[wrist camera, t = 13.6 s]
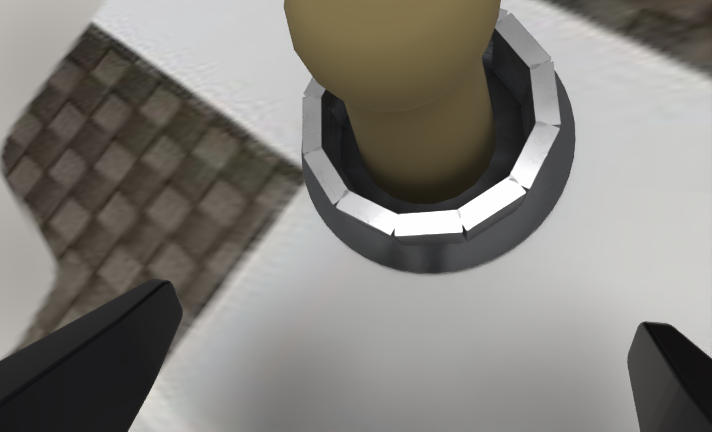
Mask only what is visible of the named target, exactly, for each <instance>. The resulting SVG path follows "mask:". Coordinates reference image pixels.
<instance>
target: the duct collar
mask: <svg viewBox="0 0 712 432" xmlns="http://www.w3.org/2000/svg"><path fill="white" fill-rule="evenodd" d="M550 60H551V57H550V56H549V55H548V53H547V52H546V51H545V50H544V49H543V48H542V47H541V46H540V45H539V43H538V42H537V41H536V40H535V39H534V38H533V37H532V36H531V34H530V33H529V32H528V31H527V30H526V29H525V28H524V27H523V26H522V24H521V23H520V22H519V21H518V20H517V19H516V18H515V17H514V15H513V14H512V13H510V14H509V15H507V10H504V9H501V8H500V10H499V17H498V20H497V23H496V25H495V28H494V31H493V33H492V36H491V39H490V41H489V44H488V47H487V49H486V51H485V52H484V54H483V56H482V63H483V67H484V72H485V77H486V82H487V86H488V91H489V96H490V101H491V105H492V110H493V115H494V120H495V124H496V148H495V151H494V153H493V156H492V159H491V162H490V165H489V167H488V169H487V170H486V171H485V172H484V174H483V175H482V176H481V178H480V179H479V180H478V181H477V183H476V184H475V185H474V186H472V187H471V188H469V189H468V190H466V191H465V192H463V193H462V194H460V195H459V196H457V197H456V198H453V199H449V200H446V201H443V202H439V203H436V204H411V203H408V202H405V201H402V200H399V199H396V198H393V197H391V196H390V195H389V194H387V193H386V192H385V191H383V190H382V189H381V188H379V187H378V186H377V185H376V184H375V183H374V181H373V180H372V178H371V177H370V175H369V174H368V172H367V171H366V169H365V167H364V164H363V160H362V157H361V154H360V151H359V148H358V145H357V141H356V138H355V135H354V132H353V129H352V125H351V122H350V119H349V116H348V113H347V109H346V106H345V103H344V101H342V100H341V99H339V98H338V97H336V96H335V95H334V94H332V93H331V92H329V91H328V90H326V89H325V88H323V87H322V86H321V85H319V84H318V83H317V81H316V80H315V79H314V77H312V79H311V81H310V83H309V84H308V86H307V88H306V90H305V92H304V95H305V96H306V97H303V134H302V168H303V173H304V178H305V183H306V186H307V189H308V192H309V195H310V198H311V200H312V202H313V204H314V206H315V208H316V210H317V212H318V213H319V215H320V216H321V218H322V219H323V220H324V222H325V223H326V225H327V226H328V227H329V228H330V229H331V230H332V232H333V233H334V234H335V235H336V236H337V237H338V238H339V239H340V240H341V241H343V242H344V243H345V244H346V245H347V246H349V247H350V248H351V249H353V250H354V251H356V252H358V253H359V254H361V255H362V256H364V257H366V258H368V259H370V260H372V261H374V262H377V263H379V264H381V265H383V266H386V267H390V268H393V269H397V270H400V271H405V272H412V273H418V274H442V273H452V272H458V271H462V270H466V269H471V268H474V267H477V266H480V265H482V264H485V263H488V262H490V261H493V260H494V259H496V258H498V257H500V256H502V255H504V254H506V253H507V252H509V251H510V250H512V249H513V248H515V247H516V246H517V245H519V244H520V243H522V242H523V241H524V240H525V239H526V238H527V237H528V236H530V235H531V234H532V233H533V232H534V231H535V230H536V229H537V228H538V227H539V226H540V225H541V223H542V222H543V221H544V220H545V218H546V217H547V216H548V215H549V213H550V212H551V211H552V209H553V208H554V206H555V204H556V203H557V201H558V199H559V198H560V196H561V194H562V192H563V190H564V187H565V185H566V182H567V180H568V177H569V174H570V170H571V166H572V162H573V158H574V149H575V123H574V117H573V112H572V108H571V103H570V101H569V98H568V95H567V93H566V90H565V87H564V86H563V84H562V82H561V80H560V78H559V77H558V75H557V73H556V72H555V70H554V65H553V62H550Z"/></svg>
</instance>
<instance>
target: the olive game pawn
mask: <svg viewBox="0 0 712 432" xmlns="http://www.w3.org/2000/svg"><path fill="white" fill-rule="evenodd" d="M500 2H501V0H285V1H284V10H285V14H286V18H287V22H288V27H289V31H290V35H291V39H292V43H293V47H294V50H295V51H296V53H297V54H298V56H299V57H300V59H301V60H302V62H303V63H304V65H305V66H306V67H307V69H308V70H309V72H310V73H311V75H312V76H313V77H314V79H315V80H316V81H317V83H318V84H319V85H321V86H322V87H323V88H325V89H326V90H328V91H329V92H331V93H332V94H334V95H335V96H336V97H338V98H339V99H341V100H342V101H344V103H345V106H346V109H347V113H348V116H349V119H350V122H351V125H352V129H353V132H354V135H355V138H356V141H357V145H358V148H359V151H360V154H361V157H362V160H363V164H364V167H365V169H366V171H367V172H368V174H369V175H370V177H371V178H372V180H373V181H374V183H375V184H376V185H377V186H378V187H379V188H381V189H382V190H383V191H385V192H386V193H387V194H389V195H390V196H391V197H393V198H396V199H399V200H402V201H405V202H408V203H411V204H436V203H439V202H443V201H446V200H449V199H453V198H456V197H457V196H459V195H460V194H462V193H463V192H465V191H466V190H468V189H469V188H471V187H472V186H474V185H475V184H476V183H477V181H478V180H479V179H480V178H481V176H482V175H483V174H484V172H485V171H486V170H487V169H488V167H489V165H490V162H491V159H492V156H493V153H494V151H495V148H496V124H495V120H494V115H493V110H492V105H491V101H490V96H489V91H488V86H487V82H486V77H485V72H484V67H483V63H482V56H483V54H484V52H485V51H486V49H487V47H488V44H489V41H490V39H491V36H492V33H493V31H494V28H495V25H496V23H497V20H498V17H499V10H500Z"/></svg>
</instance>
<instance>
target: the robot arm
mask: <svg viewBox="0 0 712 432" xmlns="http://www.w3.org/2000/svg"><path fill="white" fill-rule="evenodd" d="M182 316H183V308H182V305H181V303H180V300H179V298H178V295H177V293H176V290H175V288H174V285H173V284H172V283H171V282H170V281H168V280H159V279H152V280H149V281H147V282H145V283H143V284H141V285H139V286H137V287H136V288H134V289H132V290H130V291H128V292H126V293H125V294H123V295H121V296H119V297H117V298H115V299H113V300H112V301H110V302H108V303H106V304H104V305H102V306H101V307H99V308H97V309H95V310H93V311H91V312H89V313H88V314H86V315H84V316H82V317H80V318H78V319H77V320H75V321H73V322H71V323H69V324H67V325H65V326H64V327H62V328H60V329H58V330H56V331H54V332H53V333H51V334H49V335H47V336H45V337H43V338H41V339H40V340H38V341H36V342H34V343H32V344H30V345H29V346H27V347H25V348H23V349H21V350H19V351H17V352H16V353H14V354H12V355H10V356H8V357H6V358H5V359H3V360H1V361H0V432H128V430H129V428H130V427H131V425H132V423H133V421H134V419H135V417H136V416H137V414H138V412H139V410H140V408H141V407H142V405H143V403H144V401H145V399H146V397H147V396H148V394H149V392H150V390H151V388H152V386H153V384H154V382H155V380H156V378H157V375H158V373H159V371H160V369H161V366H162V364H163V362H164V359H165V357H166V355H167V352H168V350H169V348H170V345H171V343H172V341H173V338H174V336H175V334H176V331H177V329H178V327H179V324H180V322H181V320H182ZM627 363H628V370H629V376H630V381H631V386H632V391H633V396H634V401H635V406H636V412H637V417H638V422H639V427H640V432H712V358H711V357H709V356H708V355H707V354H706V353H705V352H703V351H702V350H701V349H700V348H699V347H697V346H696V345H695V344H694V343H693V342H691V341H690V340H689V339H688V338H687V337H685V336H684V335H683V334H682V333H681V332H679V331H678V330H677V329H676V328H675V327H673V326H672V325H670V324H667V323H658V322H647V321H646V322H642V323H640V325H639V326H638V328H637V331H636V333H635V336H634V339H633V342H632V344H631V347H630V350H629V353H628V360H627Z"/></svg>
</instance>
